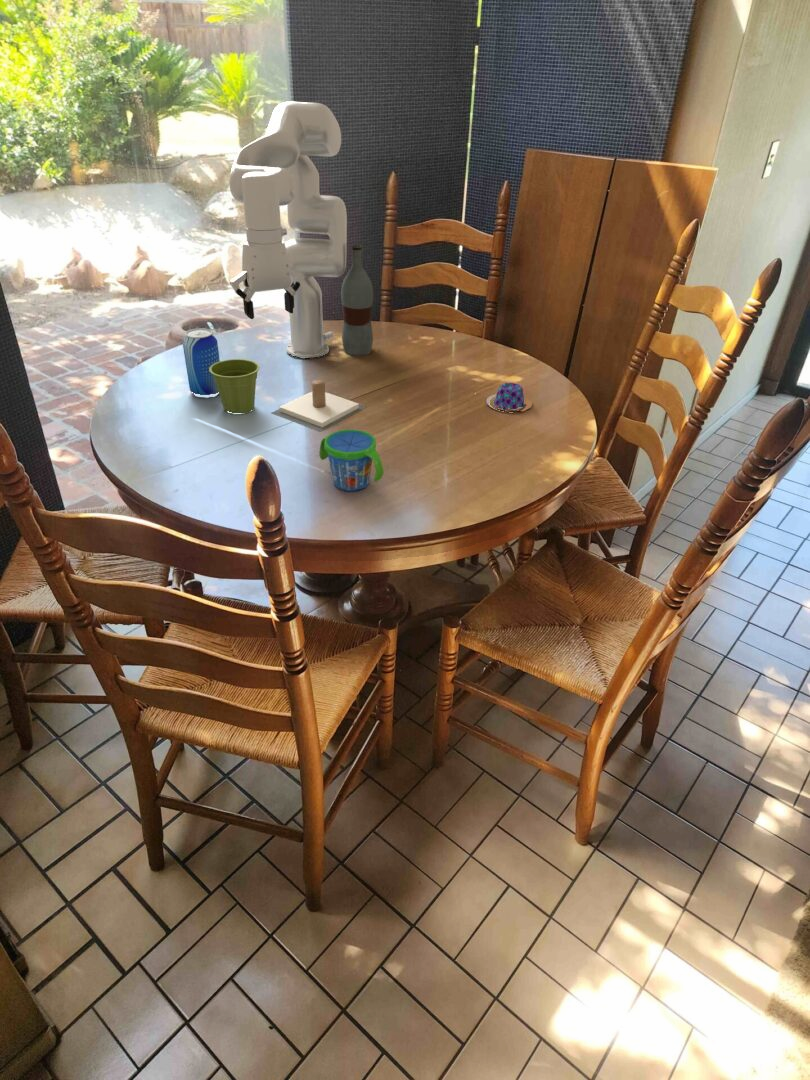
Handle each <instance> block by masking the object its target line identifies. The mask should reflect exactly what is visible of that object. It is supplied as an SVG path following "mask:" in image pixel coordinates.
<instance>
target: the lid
mask: <svg viewBox="0 0 810 1080" xmlns="http://www.w3.org/2000/svg"><path fill="white" fill-rule="evenodd" d="M359 404H360V403H358V402H355V401H352V400H349V399H346V398H344V397H341V396H338V395H335V394H333V393H329V392H326V381H324V380H322V379H315V380H312V381H311V391H310V392H308V393H306V394H304V395H301V396H300V397H297V398H295V399H292V400H291V401H289V402H286V403H285V404H282V405H280V406H278V407H279V408H278V409H279V411H280V412H283V413H285V414H288V415H291V416H293V417H296V418H299V419H301V420H304V421H306V422H309V423H312V424H314V425H317V426H320V427H324V426H326V425H328V424H330V423H332V422H334V421H335V420H337V419H339V418H341V417H343V416H345V415H347V414H349V413H351V412H352V411H354V410H356V409H358V408H359Z"/></svg>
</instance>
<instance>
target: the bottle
mask: <svg viewBox="0 0 810 1080" xmlns="http://www.w3.org/2000/svg"><path fill="white" fill-rule="evenodd" d="M351 247H352V248H351V249H352V251H351V253H352V254H351V255H352V259H351V260H352V261H351V263H352V264H351V267H350V269H348V272H347V273H346V276H345V277H344V278H343V281H342V284H341V291H340V298H341V305H342V315H343V316H342V317H343V318H342V319H343V324H342V330H341V331H342V332H341V333H342V335H341V342H342V348H343V351H344V353H346V355H349V356H358V357H361V356H366V355H369V354H370V353H371V351H372V347H373V341H374V335H373V326H372V315H373V313H372V312H373V301H374V290H373V289H374V287H373V283H372V281H371V278H370V277H369V275H368V274H367V272H366V270H365V269H364V267H363V266H362V265H363V262H362V261H363V260H362V259H363V258H362V257H363V255H362V245H361V244H352V246H351Z"/></svg>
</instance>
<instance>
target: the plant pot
mask: <svg viewBox="0 0 810 1080" xmlns="http://www.w3.org/2000/svg"><path fill="white" fill-rule="evenodd" d="M260 367H261V366H260V365H259V363H258V362H256V361H253V360H250V359H245V358H243V359H242V358H234V359H230V358H229V359H225V360H220V361H219V362H217V363H214V364H213V365H211V366H210V368H209V371H210V372H211V373H212V374H213V377H214V380H215V382H216V384H217V387H218V391H219V396H220V401H221V403H222V407H223V410H224V409H225V410H226V411H229V412H232V413H247V412H249V411H251V410H253V409H254V410H255V400H256V387H257V386H256V384H257V378H258V371H259V370H260ZM225 410H224V411H225ZM254 410H253V411H254ZM251 412H252V411H251ZM247 414H248V413H247Z"/></svg>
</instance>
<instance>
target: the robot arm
mask: <svg viewBox="0 0 810 1080" xmlns="http://www.w3.org/2000/svg"><path fill="white" fill-rule="evenodd" d="M339 124H340V123H338V120H337V119H336V117H335V115H334V114H333V112H332V110H331V109H330V108H329V107H328V106H327V105H325V104H323V103H320V102H305V101H304V102H303V101H285V102H281V103H279V104H278V105H276V106H275V108H274V109H273V111H272V114H271V117H270V120H269V122H268V125H267V127H266V132H265V135H263V136H261V137H259V138H257V139H256V140H254V141H252V142H250V143H249V144H247V145H245V146H244V147H242V148H241V149H240V150H239V151H238V153H237V154H236V156H235V158H234V161H233V163H232V167H231V170H230V174H229V181H228V182H229V189H230V190H229V191H230V193H231V196H232V197H233V198H234V200H235V201H237V202H238V203H241V204H243V210H244V222H245V233H246V235H245V236H246V241H245V242H243V245H242V257H241V273H239V274H238V275H237V276H235V277H233V278H232V279H231V280H229V285H230V286H231V288H232V290H233V291H234V293H235V294H236V295H238V296H239V298H241V299H242V300H243V301H242V302H243V312H244V315H245V316H247V317H248V318H249V319H251V320H254V318H255V311H254V310H255V309H254V301H252V300H251V299H252V298H253V296H254V295H255V293H261V292H268V291H269V292H270V291H276V290H284V291H285V292H284V294H283V299H284V310H285V311H287V312H288V313H289V314H288V315H289V328H290V329H289V330H290V331H289V332H290V343H289V344H287V346H285V351H286V350H287V352H288V353H289V354H291V355H294V356H297V357H305V358H306V357H318V358H320V357H319V356H322V357H324V356H326V355H327V354H328V353H329V351H330V347H329V344H326V342H327V341H328V340H329V339H332V338H333V337H334V334H333V332H332V331H328V332H325V333H324V319H323V317H324V316H323V298H322V297H323V292H322V289H321V286H320V285H319V283H318V281H317V280H316V279H315V277H325V278H327V277H328V278H339V277H342V276H343V275H344V273H345V272H346V267H347V241H348V239H347V237H348V235H347V233H348V228H347V226H348V220H347V219H348V217H347V216H348V215H347V208H346V203H345V202H344V200H343V199H342V198H341V197H338V196H336V195H327V194H326V195H323V194H322V195H321V193H320V173H319V171H318V169H317V167H316V165H315V164H314V163H313V161H312V160H311V159H310V157H311V156H312V157H326V158H327V157H329V158H330V157H334V156H336V155H338V153H339V152H340V149H341V145H342V132H341V127H340V125H339ZM309 156H310V157H309ZM281 206H282V207H283V206H287V209H286V210H287V221H288V226H289V227H290V229H291V230H292V231H294V232H297V233H301V234H302V233H304V234H317V235H318V234H320V235H326V236H327V235H328V237H329V239H321V238H307V237H305V238H304V237H303V238H302V237H296V238H290V239H288V240H287V241H286V242H285V241H284V240H283V237H284V236H287V235H288V231H287V229H286V228H283V227H282V223H281V210H280V207H281ZM241 283H242V284H243V286H244V287H245V288H244V289H241V288H240V284H241ZM287 352H286V353H287ZM288 353H287V354H288ZM289 354H288V355H289ZM325 354H326V355H325ZM291 355H290V356H291ZM323 355H324V356H323ZM297 357H296V358H297ZM305 358H304V359H305Z"/></svg>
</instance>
